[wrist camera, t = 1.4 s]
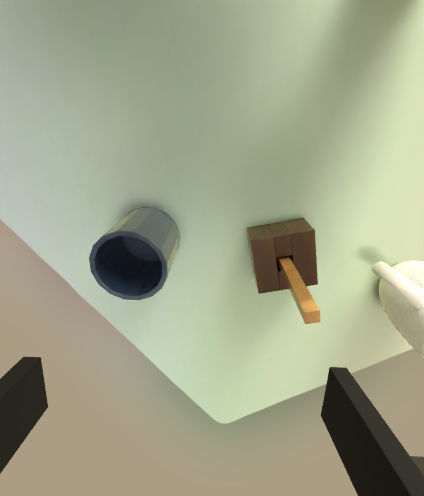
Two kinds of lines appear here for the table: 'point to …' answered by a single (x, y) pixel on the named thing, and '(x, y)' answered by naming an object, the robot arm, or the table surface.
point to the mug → (404, 299)
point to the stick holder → (282, 253)
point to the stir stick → (299, 291)
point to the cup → (135, 254)
